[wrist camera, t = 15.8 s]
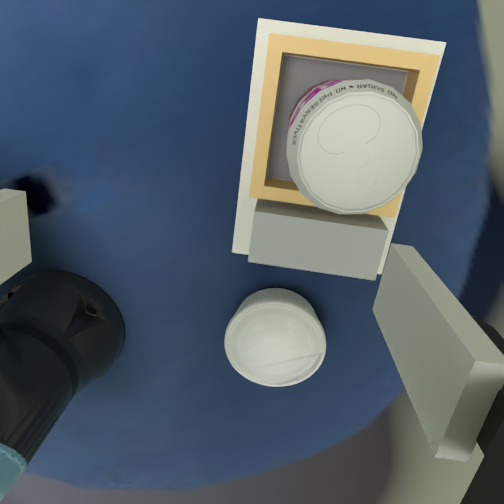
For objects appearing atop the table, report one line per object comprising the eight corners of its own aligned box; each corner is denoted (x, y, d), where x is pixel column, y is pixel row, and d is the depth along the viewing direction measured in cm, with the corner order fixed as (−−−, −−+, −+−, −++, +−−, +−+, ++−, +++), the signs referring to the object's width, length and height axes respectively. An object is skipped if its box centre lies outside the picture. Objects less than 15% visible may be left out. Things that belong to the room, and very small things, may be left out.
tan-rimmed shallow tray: (377, 266, 45) (392, 297, 39) (234, 245, 45) (225, 272, 39) (438, 44, 36) (470, 36, 30) (259, 21, 37) (253, 8, 30)
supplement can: (274, 102, 37) (265, 116, 23) (362, 63, 35) (410, 53, 22) (305, 184, 40) (313, 239, 26) (389, 152, 38) (445, 193, 24)
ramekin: (281, 373, 52) (280, 404, 47) (211, 323, 50) (203, 350, 45) (343, 317, 48) (349, 344, 43) (270, 260, 46) (267, 282, 41)
